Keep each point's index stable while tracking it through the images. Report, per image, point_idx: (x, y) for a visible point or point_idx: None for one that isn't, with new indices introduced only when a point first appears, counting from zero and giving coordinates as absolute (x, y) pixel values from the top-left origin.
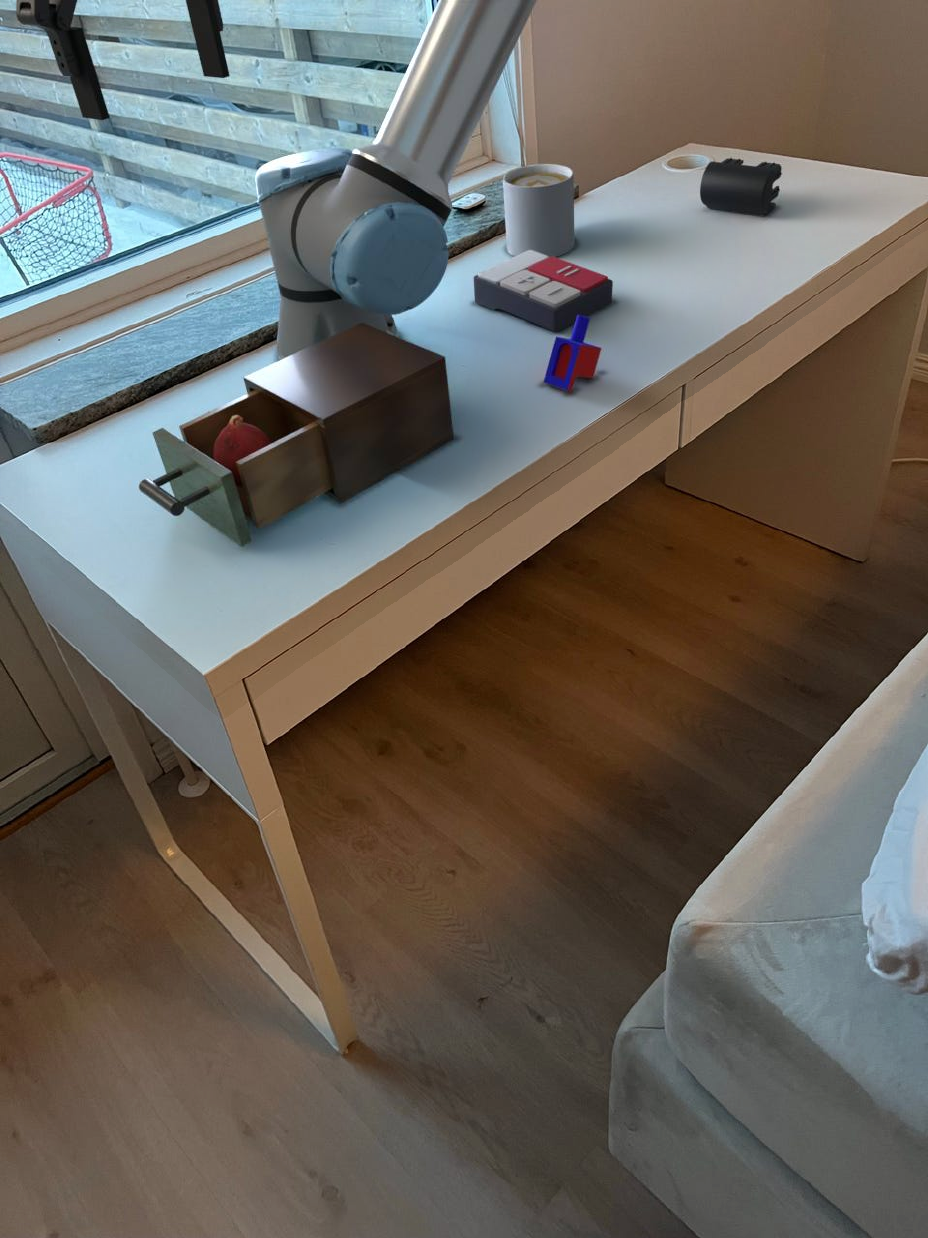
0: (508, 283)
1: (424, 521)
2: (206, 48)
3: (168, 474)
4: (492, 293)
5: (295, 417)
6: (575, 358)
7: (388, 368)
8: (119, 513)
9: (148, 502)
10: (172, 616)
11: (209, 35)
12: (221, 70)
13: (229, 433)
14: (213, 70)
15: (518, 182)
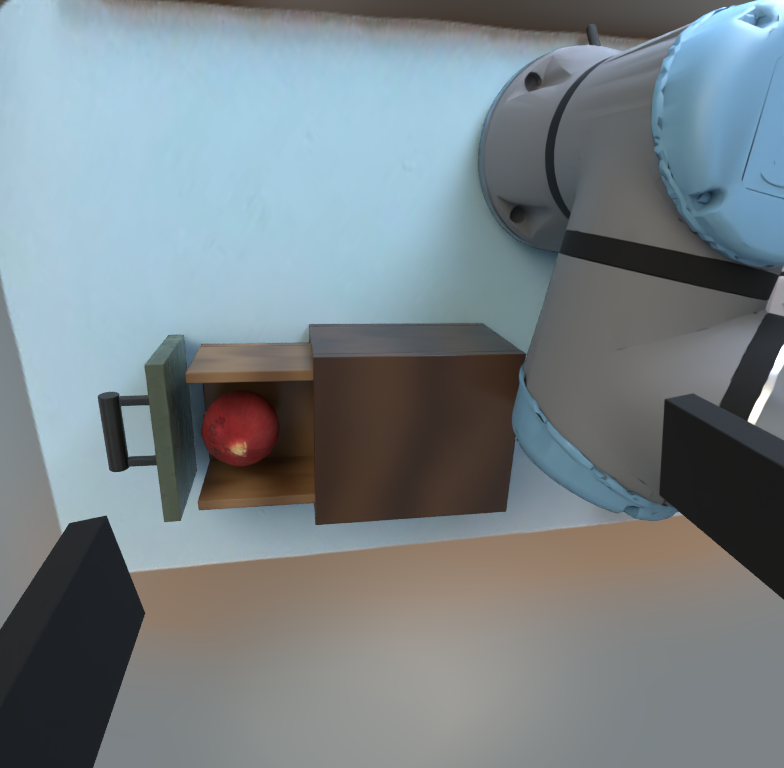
0: (777, 293)
1: (347, 540)
2: (730, 496)
3: (141, 401)
4: None
5: None
6: None
7: (447, 486)
8: (102, 284)
9: (145, 292)
10: (76, 496)
11: (767, 560)
12: (674, 504)
13: (223, 450)
14: (674, 468)
15: None
